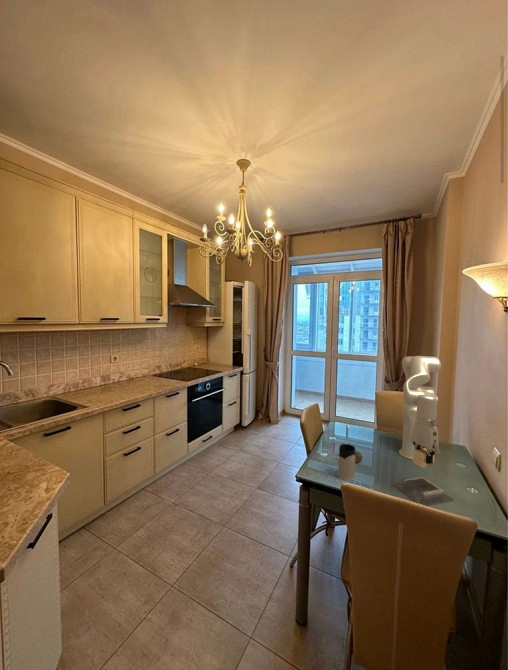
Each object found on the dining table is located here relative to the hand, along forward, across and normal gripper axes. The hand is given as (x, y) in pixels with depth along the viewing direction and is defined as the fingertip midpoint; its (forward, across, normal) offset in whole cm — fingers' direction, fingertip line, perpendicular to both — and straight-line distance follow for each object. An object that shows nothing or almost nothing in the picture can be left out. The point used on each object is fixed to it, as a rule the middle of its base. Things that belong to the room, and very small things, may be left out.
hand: (423, 459), depth 124 cm
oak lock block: (+2, 0, 0) cm, 2 cm away
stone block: (+16, +36, +13) cm, 41 cm away
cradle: (+16, 0, 0) cm, 16 cm away
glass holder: (+16, +23, +27) cm, 39 cm away
